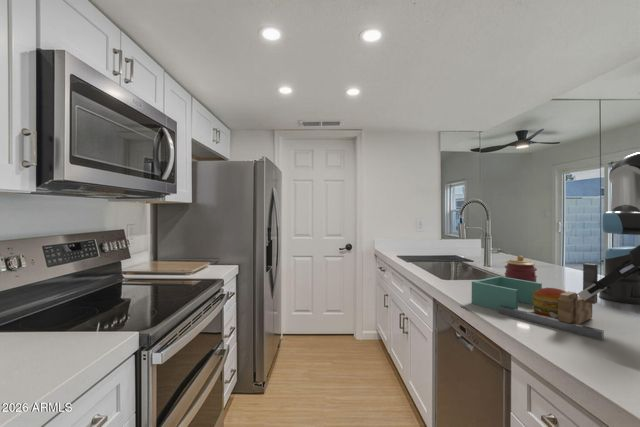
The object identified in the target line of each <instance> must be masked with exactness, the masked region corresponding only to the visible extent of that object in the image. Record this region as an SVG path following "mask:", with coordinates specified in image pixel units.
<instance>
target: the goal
mask: <svg viewBox="0 0 640 427" xmlns="http://www.w3.org/2000/svg"><path fill="white" fill-rule="evenodd" d="M542 284H543V283H542V282H537V281H536V282H531V281H525V280H519V279H513V278H507V277H505V276H501V275H497V276H493V277H489V278H483V279H478V280H473V281H471V304H473V305H477V306H480V307H485V308H488V309H492V310H496V311H498V306H505V307H509V308H514V309H518V308H519V302H521V303H525V304H529V305H533V300H532V298H533V293H534V292H535V291H536V290H538V289H542V288H543V285H542ZM518 310H519V309H518Z"/></svg>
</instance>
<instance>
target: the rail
mask: <svg viewBox="0 0 640 427" xmlns="http://www.w3.org/2000/svg"><path fill="white" fill-rule="evenodd" d="M497 311H498V312H497V313H498V314H500V315H505V316H509V317H513V318H515V319H519V320H520V319H521V320H524V321H528V322H531V323H535V324H539V325H542V326H546V327H550V328H555V329H558V330H560V331H565V332H569V333H572V334H576V335H580V336H583V337H587V338H591V339H594V340H599V341H603V340H604V339H605V330H603V329H600V328H595V327H591V326H587V325H583V324H575V323H567V322H563V321H559V320H558V319H556V318H550V317H546V316H542V315H540V314H537V313H533V312H531V311H525V310H521V309H514V308H509V307H505V306H498V310H497Z"/></svg>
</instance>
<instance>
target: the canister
mask: <svg viewBox="0 0 640 427" xmlns="http://www.w3.org/2000/svg"><path fill="white" fill-rule="evenodd" d="M535 264H536V263H534V262H532V261H531V260H528V259H525V258H524V256H523V255H518V256H517V257H516V258H511V259H509V260H507V261H506V265H504V268H505V272H504V277H507V278H513V279H519V280H525V281H531V282H537V277H538V275H537V273H536V272H537V271H538V269H537V268H536V267H535Z"/></svg>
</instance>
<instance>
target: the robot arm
mask: <svg viewBox="0 0 640 427" xmlns="http://www.w3.org/2000/svg"><path fill="white" fill-rule="evenodd" d="M608 179H609V182H610V183H611V184H612V185H611V199H610V200H611V203H610V211H605V212H603V213H602V231H603V233H605V234H614V235H634V236H635V235H636V236H638V235H639V236H640V151H638V152H634V153H632V154H629V155H627V156H625V157H622V158H621V159H620V160H618V161H617V162H616V163H615V164H614V165H613V166H612V167H611V169H610V171H609V175H608ZM603 260H604V277H602V278H600V279H599V280H598V281H593V282H594V284H592V285H591V286H589V287H587V288H586V289H584V290H583V289H582V290H581V291H579V292H578V293H577V294H578V297H579V296H580V297H581V298H582V299H583V300H584V301H585V300H587V299H588V298H590V297H592V296H593V295H595V294H597V295H599V298H601V299H604V300H608V301H613V302H618V303H624V304H631V305H633V304H634V305H640V244H639V245H637V246H615V247H609V248H607V249H605V252H604V259H603Z"/></svg>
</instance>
